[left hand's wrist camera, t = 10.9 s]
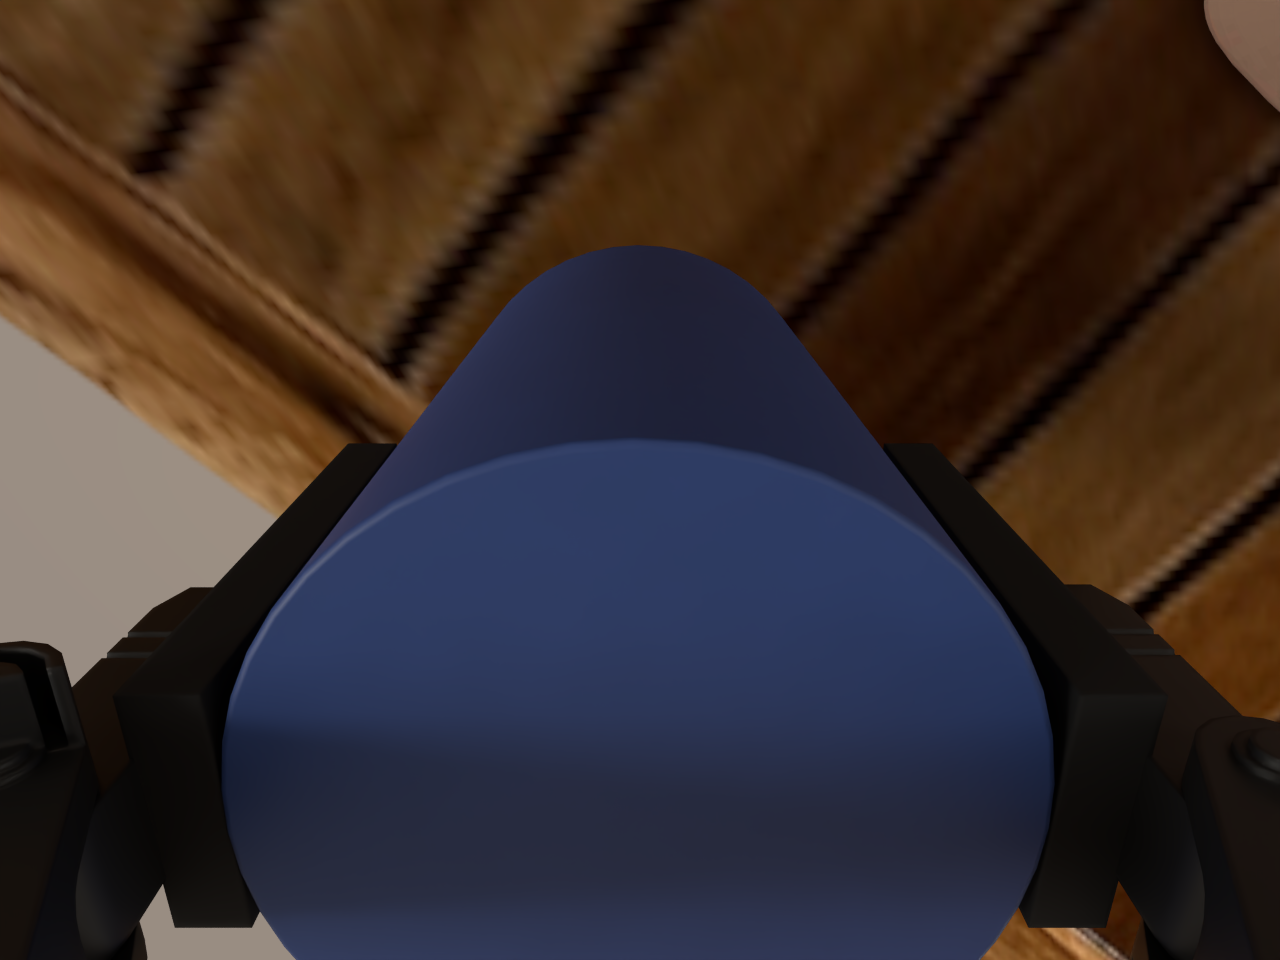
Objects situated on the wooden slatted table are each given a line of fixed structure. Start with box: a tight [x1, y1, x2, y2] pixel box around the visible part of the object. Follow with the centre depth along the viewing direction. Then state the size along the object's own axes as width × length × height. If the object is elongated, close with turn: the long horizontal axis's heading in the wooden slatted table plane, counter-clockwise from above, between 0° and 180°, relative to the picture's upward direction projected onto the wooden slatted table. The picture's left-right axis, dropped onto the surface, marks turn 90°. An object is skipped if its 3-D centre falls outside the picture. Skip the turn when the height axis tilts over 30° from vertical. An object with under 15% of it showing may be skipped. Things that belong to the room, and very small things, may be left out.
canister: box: [221, 245, 1055, 960], centre depth 14 cm, size 8×8×12 cm
